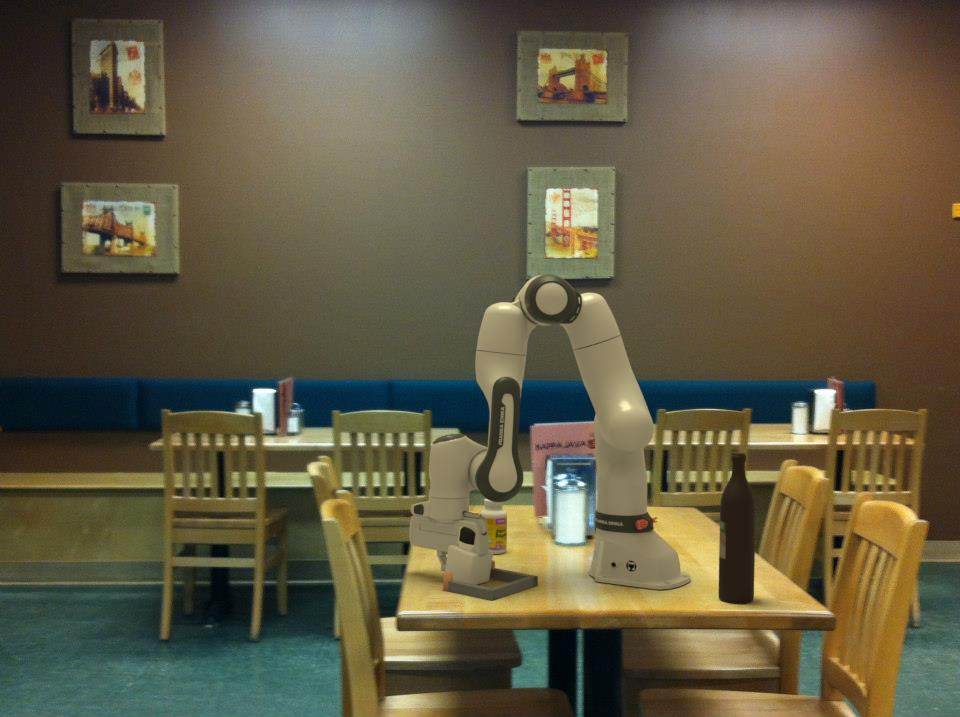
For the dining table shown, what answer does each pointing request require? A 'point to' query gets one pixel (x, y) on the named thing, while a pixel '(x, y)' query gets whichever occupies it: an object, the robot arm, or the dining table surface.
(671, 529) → the dining table surface
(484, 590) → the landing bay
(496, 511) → the supplement bottle
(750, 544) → the wine bottle
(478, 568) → the medicine bottle
